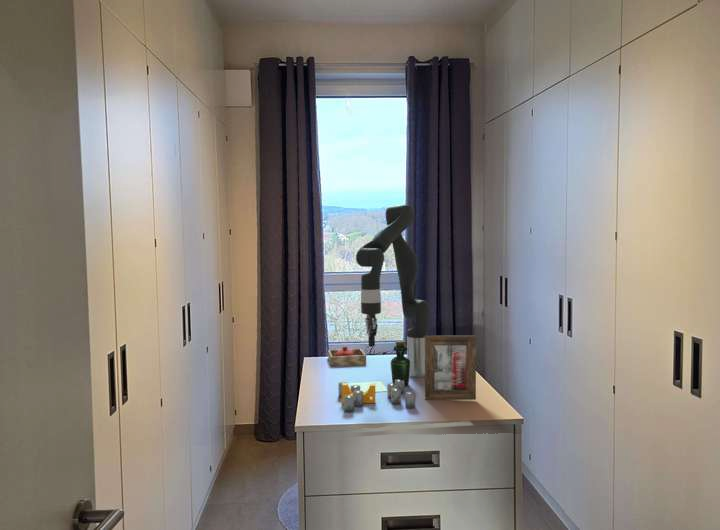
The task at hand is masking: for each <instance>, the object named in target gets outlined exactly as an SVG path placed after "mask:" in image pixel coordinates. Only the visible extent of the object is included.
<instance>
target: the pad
mask: <svg viewBox="0 0 720 530" xmlns="http://www.w3.org/2000/svg"><path fill="white" fill-rule="evenodd" d="M347 383H348V385H349V388H350V390H351V386H352V385H359V386H360V391H363V393H365V392H366V391H367V390H368V389H369V387H370V383H375V393H380V392H381V393H382V392H386V393H387V387H386V386H385V385H384V384H383V382H382V381H366V382H365V381H363V382H347Z"/></svg>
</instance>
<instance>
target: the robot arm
mask: <svg viewBox="0 0 720 530" xmlns="http://www.w3.org/2000/svg"><path fill="white" fill-rule="evenodd" d="M414 220H415V211H414V209H413V207H412V206H411V205H409V204H399V205H398V204H397V205H391V206H387V208H386V210H385V221H386V226H385V227H382V228H381V229H380V230H379V231H377V232H376V234H375V235H374V237H373V238H372V239H371V240H370V241H369V242H367V243H365V244H364V245H363V246H361V247H360V248H359V249H358V250H357V252H356V255H355V261H356V263H357V264H358V266H360V267H364V268H371V270H370V272H365V273H363V274H362V275H361V277H360V278H361V279H360V281H361V283H360V285H361V287H360V288H361V292H360V308H361V309H360V312H361V314H362V315H366V317H365V318H364V319H365V329H366V334H367V336H368V338H367V339H368V347H375V346H376V337H377V331H378V327H379V325H378V318H377V316H376V315H378V314H381V313H382V298H381V297H382V295H381V282H380V281H381V275H382V269H383V266H384V263H385V253H386V252H387V251H388V249H389V248H390V246H392V249H393V253H394V259H395V260H394V261H395V265H396V266H395V267H396V271H397V275H398V280H399V287H400V294H401V297H400V298H401V306H402V313H403V316H404V318H405V319H406V320H409V321H414V326H413V327H411V328H408V329H407V330H406V347H407V350H406V358H408V359H409V360H410V372H409V377H412V378H425V336H429V331H430V328H431V327H430V325H431V307H430V304H429V302H428V301H426V300H422V299H416V296H415V290H414V289H415V283H416V281H417V277H418V276H419V275H418V274H419V262H418V258H417V254H416V253H415V251H414V249H413V248H412V247H411V246H410V244H408V242H407V241H406V240H405V238H404V237H403V235H402V233H404V231H405V230H407V229H408V228H409V227H410V226H411V225H412V224H413V222H414Z"/></svg>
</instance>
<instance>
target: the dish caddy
mask: <svg viewBox="0 0 720 530" xmlns="http://www.w3.org/2000/svg"><path fill="white" fill-rule="evenodd" d="M348 349H349V348H348ZM340 350H341V349H328V350H327V351H328V352H327V354H328V355H327V356H328V357H327V359H328V361H329V363H330V366H331V367H341V366H344V365H347V366H365V365H364V364H366V365H367V355H366V353H365V352H364V351H363V349H362V348H350V349H349V350H353V351H354V354H355V356H336V353H337V352H338V351H340Z"/></svg>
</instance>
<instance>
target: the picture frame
mask: <svg viewBox="0 0 720 530" xmlns="http://www.w3.org/2000/svg"><path fill="white" fill-rule="evenodd" d="M476 338H477V336H476V335H428V336H425V377H424V399H425V400H430V401H431V400H432V401H434V400H435V401H437V400H439V401H440V400H442V401H443V400H445V401H446V400H447V401H449V400H452V401H453V400H454V401H455V400H462V401H463V400H464V401H465V400H466V401H468V400H470V401H476V400H477V393H476V392H477V380H476V379H477V377H476V375H477V370H476V369H477V367H476V366H477V353H476V352H477V351H476V349H477V345H476V344H477V343H476V342H477V340H476Z"/></svg>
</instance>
